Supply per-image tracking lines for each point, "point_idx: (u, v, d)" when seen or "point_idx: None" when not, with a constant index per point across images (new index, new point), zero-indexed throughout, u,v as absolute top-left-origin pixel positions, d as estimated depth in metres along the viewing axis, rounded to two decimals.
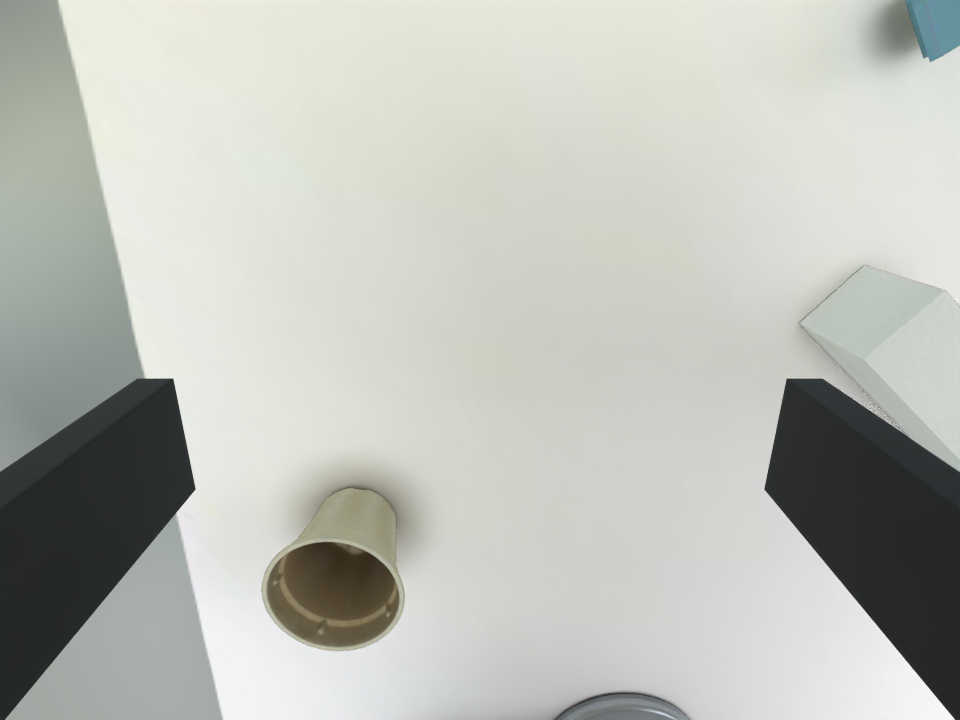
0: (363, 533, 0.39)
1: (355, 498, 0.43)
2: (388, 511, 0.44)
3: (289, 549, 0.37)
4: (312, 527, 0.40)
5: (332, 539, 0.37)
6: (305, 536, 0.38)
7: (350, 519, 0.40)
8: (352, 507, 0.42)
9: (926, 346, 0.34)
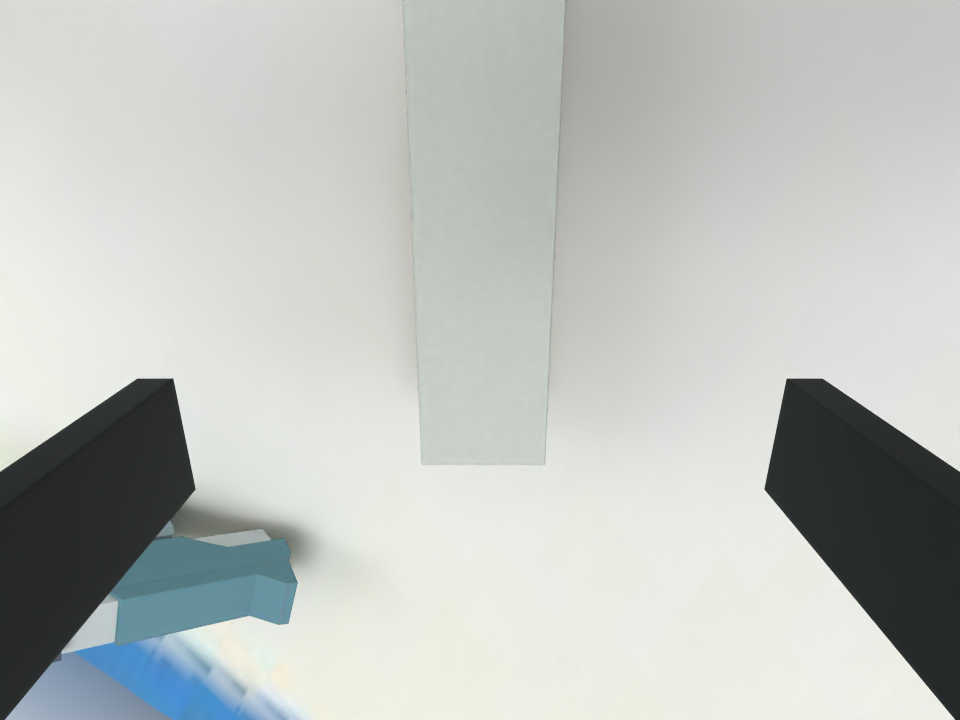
0: None
1: None
2: None
3: None
4: None
5: None
6: None
7: None
8: None
9: (480, 423, 0.25)
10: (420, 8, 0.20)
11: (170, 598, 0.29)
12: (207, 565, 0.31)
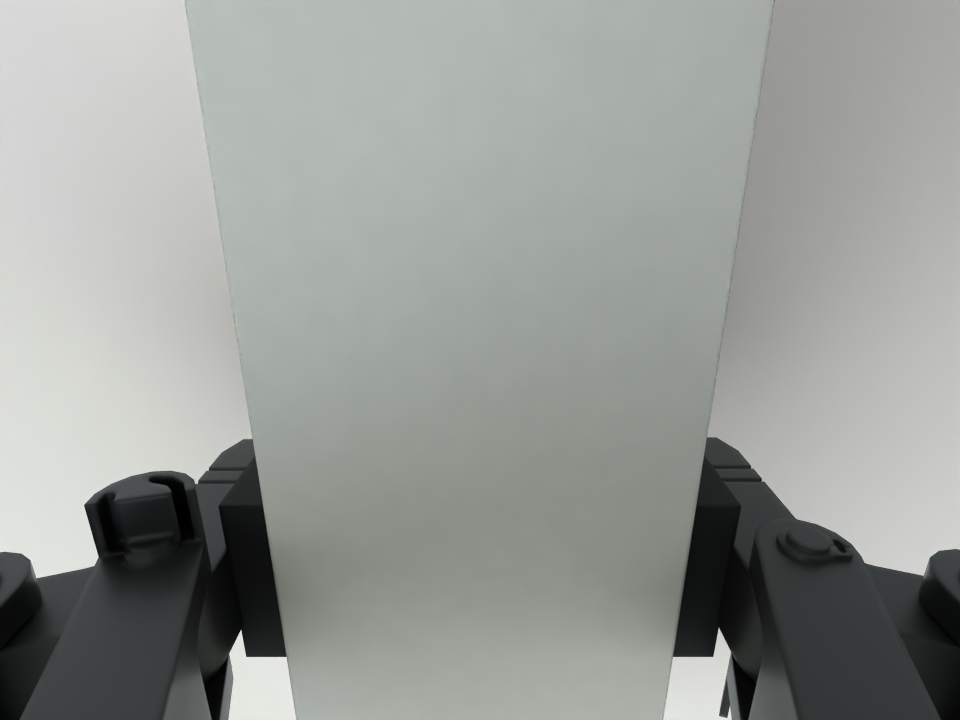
0: None
1: None
2: None
3: None
4: None
5: None
6: None
7: None
8: None
9: None
10: None
11: None
12: None
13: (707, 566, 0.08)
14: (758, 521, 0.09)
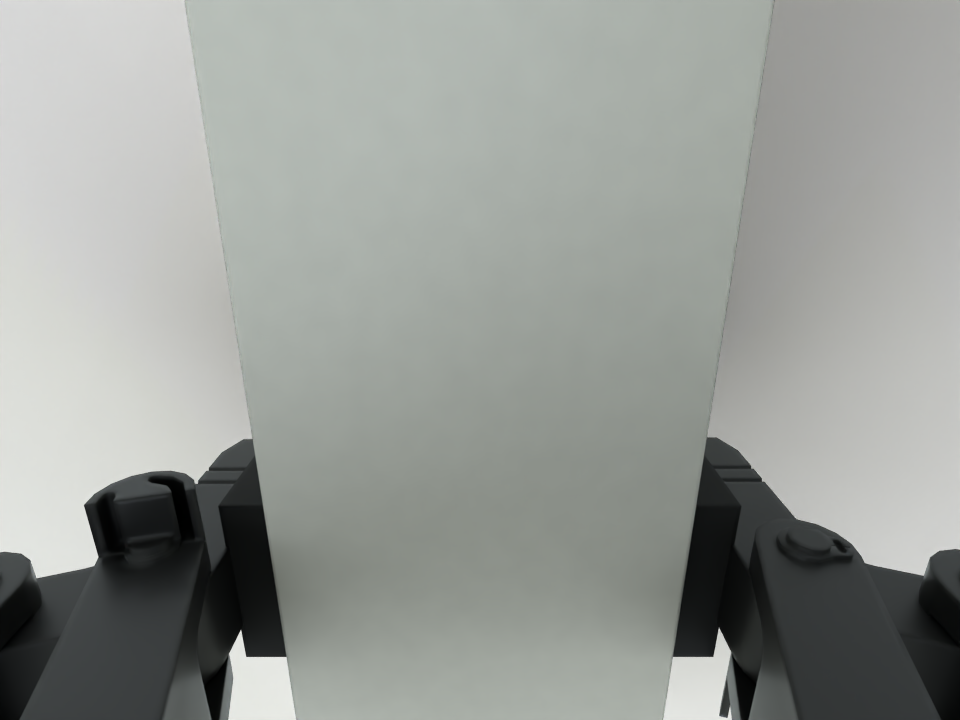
0: None
1: None
2: None
3: None
4: None
5: None
6: None
7: None
8: None
9: None
10: None
11: None
12: None
13: (707, 566, 0.08)
14: (758, 521, 0.09)
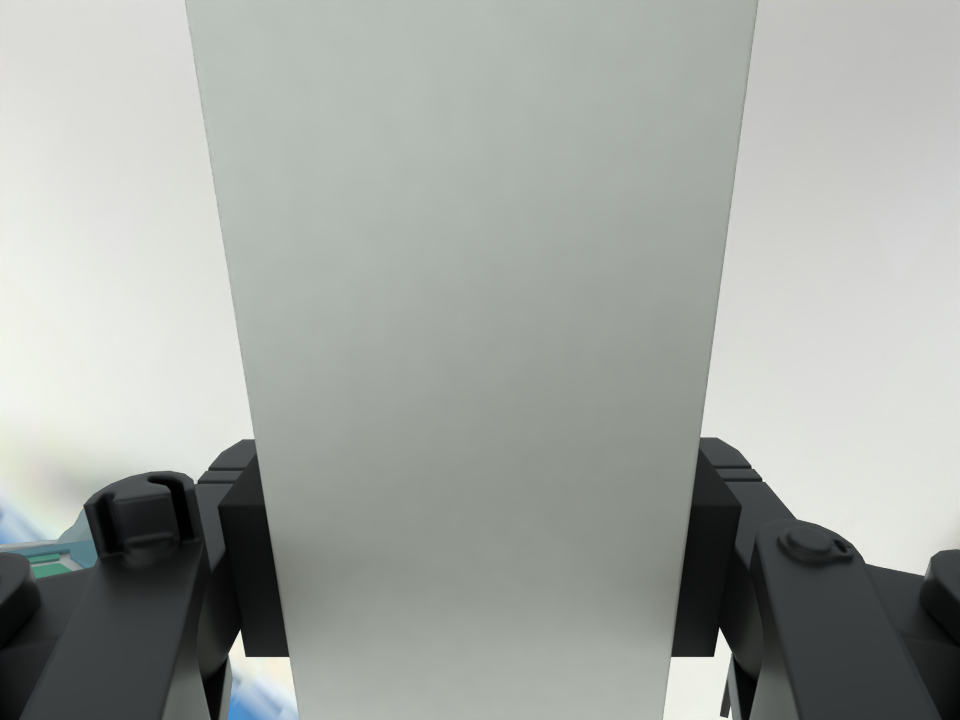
0: None
1: None
2: None
3: None
4: None
5: None
6: None
7: None
8: None
9: None
10: None
11: None
12: None
13: (708, 566, 0.08)
14: (759, 521, 0.09)
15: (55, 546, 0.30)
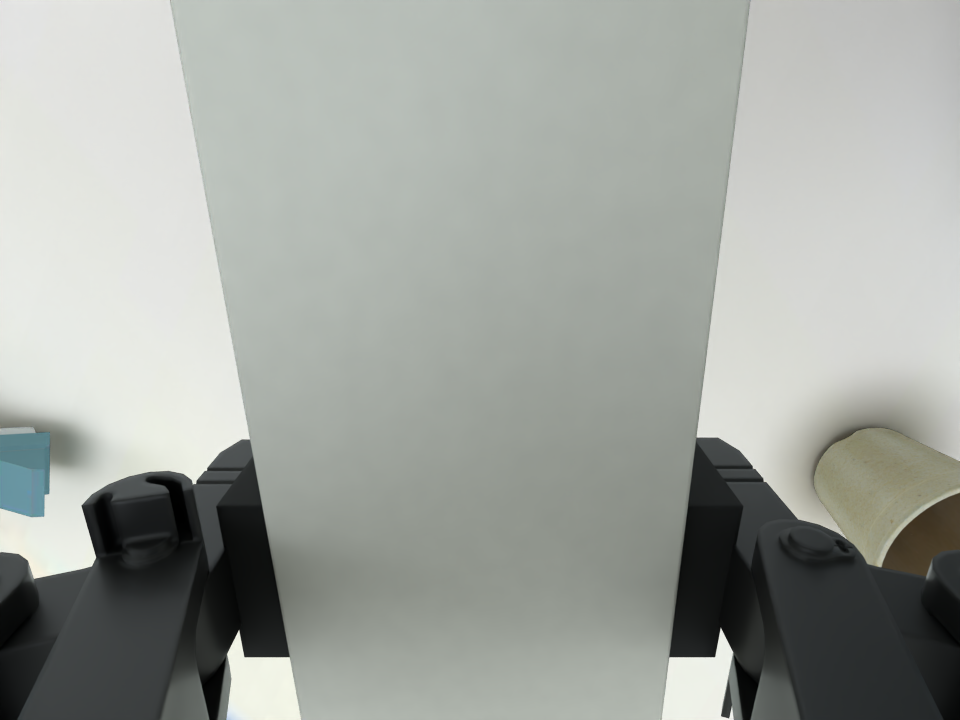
0: (863, 547, 0.30)
1: (831, 515, 0.35)
2: (828, 470, 0.34)
3: None
4: None
5: None
6: None
7: None
8: (841, 530, 0.33)
9: None
10: None
11: None
12: None
13: (709, 566, 0.08)
14: (760, 521, 0.08)
15: None
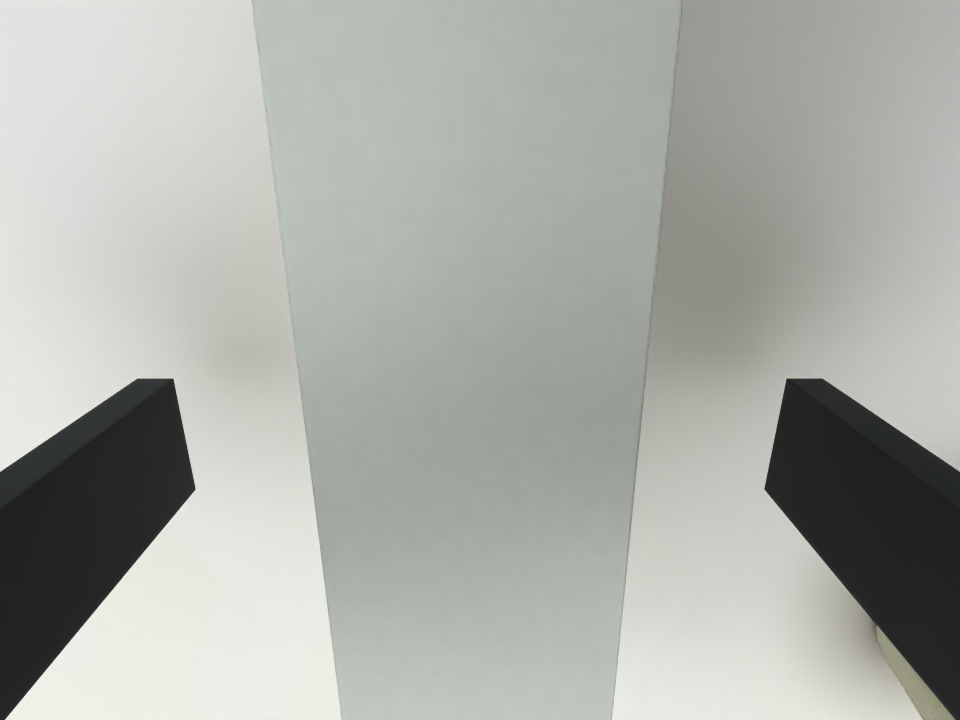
0: None
1: (911, 700, 0.19)
2: None
3: None
4: None
5: None
6: None
7: None
8: None
9: None
10: None
11: None
12: None
13: None
14: None
15: None
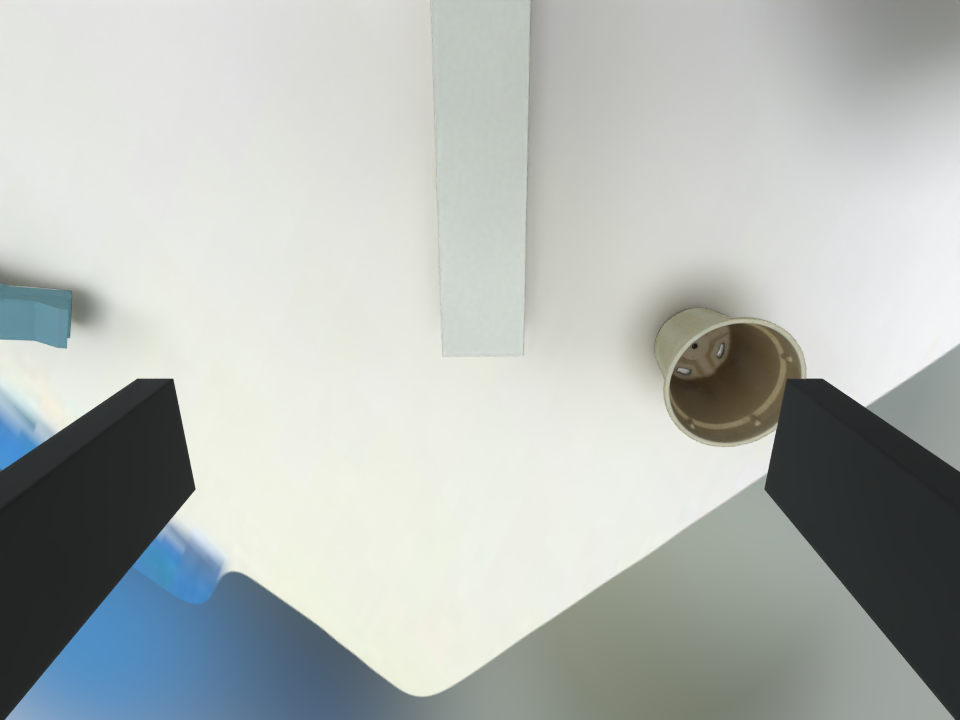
0: None
1: None
2: (660, 338, 0.45)
3: (707, 442, 0.40)
4: (694, 413, 0.43)
5: (675, 422, 0.40)
6: (695, 428, 0.41)
7: None
8: None
9: (481, 327, 0.39)
10: (443, 64, 0.33)
11: None
12: None
13: None
14: None
15: None
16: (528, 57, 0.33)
